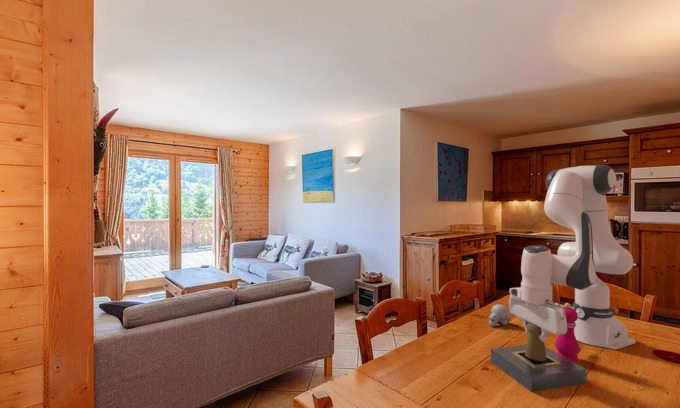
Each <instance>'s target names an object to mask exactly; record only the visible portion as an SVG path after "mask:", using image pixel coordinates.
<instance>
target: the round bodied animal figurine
mask: <svg viewBox="0 0 680 408" xmlns="http://www.w3.org/2000/svg"><path fill="white" fill-rule="evenodd" d="M508 309H509V308H507V307H506V306H505V305H503V304H500V303H499V304H498V303H497V304H495V305H493V306H492V307H491V309H490V312H491V313H489V312H488V313H487V315H488V325H489V326H490V327H495V326H496V325H497V324H499V323H501V325H502V326H507V325H508V322H511V321H512V318H511V316H510V313H509V312H510V311H509V310H508Z"/></svg>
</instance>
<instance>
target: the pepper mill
mask: <svg viewBox="0 0 680 408" xmlns="http://www.w3.org/2000/svg"><path fill="white" fill-rule="evenodd" d="M562 307H563V309H564V310H565V315H566V321H567V333H566V334H564V335H557V336H556V338H555V342H554V347H555V348H556V350H557V351H556V353H558V354H559V355H561V356H563V357H565V358H567V359H569V360H571V361H572V362H574V363H576V364H578V362H579V356H578V354H579V353H580V351H581V348H580V344H579V341H578V340H576V337H575V334H574V328H575V327H576V322H575V321H576V320H577V319H578V314H577V312H576V311H575V310H574V308H573V307H571V304H570V303H568V302H566V303H564V306H562Z"/></svg>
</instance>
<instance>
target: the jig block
mask: <svg viewBox="0 0 680 408" xmlns="http://www.w3.org/2000/svg"><path fill="white" fill-rule="evenodd" d="M526 345H527V344H525V345H524V344H523V345H515V346H514V345H513V346H506V347H497V348H490V363H491V364H493V365H494V366H495V367H497V368H499V369H500V370H501V371H502V372H504V373H505V374H506V375H508V376H509V377H511V379H513V380H515V381H516V382H517V383H518V384H520V385H521V386H523V387H524V388H525V389H526V390H528V391H529V392H530V393H532V392H533V393H534V392H539V391H545V390H546V391H547V390H552V389H559V388H560V389H561V388H566V387H573V386H580V385H585V384H587V372H588V371H587V368H585V367H583V366H582V365H580V364H578V363H574V362H572V361H571V360H569V359H567V358H565V357H563V356H561V355H559V354H558V353H557V351H554V350H552V349H550V348H548V347H547V346H545V352H546V360H545V361H537V360H533V359H530V358H528V357H527V356H526V355H525V351H526Z"/></svg>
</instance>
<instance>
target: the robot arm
mask: <svg viewBox="0 0 680 408" xmlns="http://www.w3.org/2000/svg"><path fill="white" fill-rule="evenodd" d="M616 181H617V175H616V173H615V169H614V168H613V167H611V166H610V165H606V164H597V165H577V166H571V167H565V168H557V169H553V170H551V171H550V172H549V173H548V174H547V176H546V178H545V187H546V190H547V192H546V195H545V200H544V202H543V203H544V204H543V211H544V213H545V215H546V217H548V219H550V220H551V221H552V222H553V223H555V224H558V225H560V226H562V227H564V228H567V229H570V230H572V231H573V232H574V233H575V241H567V242H563V243H561V245H559V247H558V248H557V249H558V250H557V254H553V253H552V252H551V249H550V247H548V246H545V245H539V244H538V245H537V244H534V245H528V246H525V247H524V248H523V251H522V255H521V265H520V273H521V276H522V277H521V278H522V279H521V282H520V286H519V287H511V288H509V291H508V292H509V294H510V295H509V300H508V301H509V302H508V307H509V308H508V309H509V310H508V311H509V312H510V314H511V315H513V316H515V317H517V318H519V319H521V320H522V323H523V326H524V328H525V329H524V330H525V331H524V332H525V334H526V335H527V334H528V333H529V332H528V330H527V324H528V323H529V322H530V323H532V324H534V325H536V326H538V327H540V328H541V331H543V332H542V334H541V335H538V337H539V338H538V339H539V340H540V341H542V342H544V343H545V342H547V339H548V338H547V337H548V335H549V334H550V333H552V334H554V335H555V336H558V335H564V334H566V333H567V321H566V315H565V310H564V309H563V307H564V306H562V304H560V303H558V302H554V301H553V284H555V285H561V286H565V287H568V288H572V289H574V301H573V309H574V310H575V311H576V312H577V314H578V319H577V320H576V321H575V322H576V327H575V328H574V334H575V337H576V340H577V342H580V343H583V344H587V345H590V346H593V347H594V346H595V347H599V348H600V347H601V348H607V349H611V350H615V351H616V350H619V349H623V348H625V347H628V346H631V345H634V344H636V343H637V342H636V340H635V339H634V338H632V337H631V336H629V335H628V328H627V326H626V325H625V324H624V323H623V322H621V321H620V320H619V319H617V318H616V317H615V316H614V313H615V314H618V312H619V308H618V307H614V306H610V305H611V304H610V303H611V302H610V300H611V297H610V296H611V291H610V288H609V285H607V284H606V283H605V282H604V281H603V280H602V279H600V278H599V277H598V275H597V273H603V274H607V275H626V274H628V272H630V271H631V269H632V268H633V266H634V258H633V255H632V254H631V252H630V251H629V250H628V249H626V248H625V247H624V246H623V245H621V244H620V243H619V242H618V241H617V240H616V238H615V237H614V235H613V233H612V231H611V228H610V223H609V214H608V213H609V212H608V203H607V202H608V201H607V197H606V195H607V194H608V193H610V192H611V191H612V190H613V189H614V188H615V186H616ZM596 272H597V273H596Z"/></svg>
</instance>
